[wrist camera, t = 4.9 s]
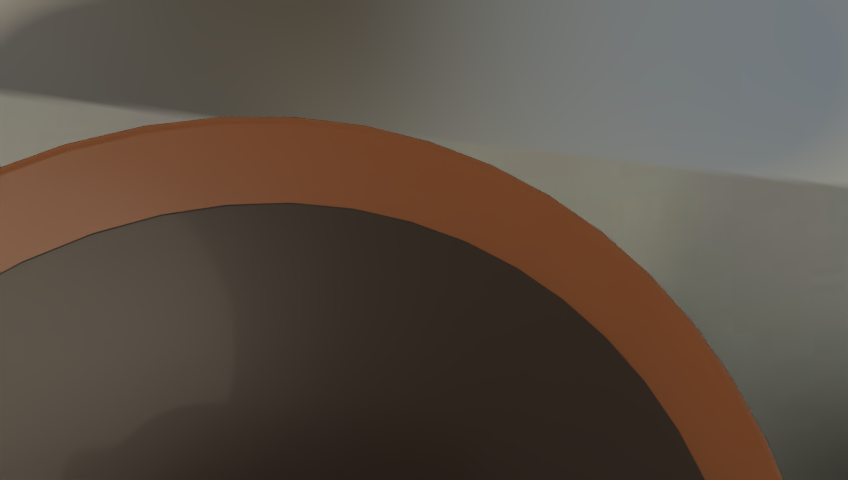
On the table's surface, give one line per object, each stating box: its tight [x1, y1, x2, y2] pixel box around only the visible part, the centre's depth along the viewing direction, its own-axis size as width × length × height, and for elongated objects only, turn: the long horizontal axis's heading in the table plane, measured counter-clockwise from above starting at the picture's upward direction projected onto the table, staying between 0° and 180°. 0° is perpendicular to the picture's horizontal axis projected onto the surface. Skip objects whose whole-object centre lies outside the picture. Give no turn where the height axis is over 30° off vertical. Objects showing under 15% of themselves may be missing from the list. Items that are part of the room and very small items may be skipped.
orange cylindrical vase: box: [0, 117, 783, 480], centre depth 8 cm, size 6×6×12 cm
